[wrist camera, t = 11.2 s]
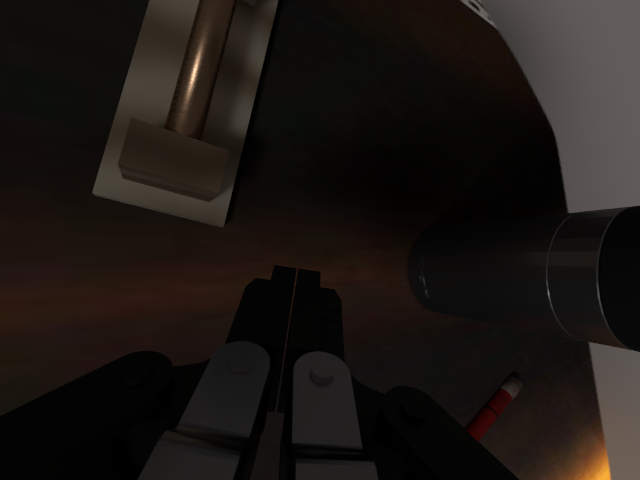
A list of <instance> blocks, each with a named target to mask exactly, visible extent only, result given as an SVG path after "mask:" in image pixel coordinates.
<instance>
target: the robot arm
mask: <svg viewBox="0 0 640 480" xmlns="http://www.w3.org/2000/svg"><path fill="white" fill-rule="evenodd" d="M296 269H297V268H290V267H283V266H276V265H275V266H274V269H273V273H272V277H271V280H266V279H259V278H255V279H254V280H253V281H252V282H251V283H249V284H248V285H247V286H246V287H245V290H244V293H243V296H242V300H241V301H240V304H239V308H238V310H237V312H236V315H235V318H234V321H233V323H232V326H231V329H230V332H229V335H228V337H227V340H226V343H225V345H223V346H221V347H220V348H219V349H217V350H216V352H215V353H214V354H213V356H212V357H211V358H210V359H209V360H206V361H204V362H201V363H197V364H192V365H184V366H176V367H173V365H172V363H171V361H170V360H169V359H168V358H167V357H166V356H165V355H163V354H161V353H158V352H153V351H139V352H134V353H131V354H128V355H125V356H123V357H121V358H119V359H117V360H115V361H113V362H110V363H108V364H106V365H104V366H102V367H100V368H98V369H96V370H94V371H92V372H90V373H88V374H86V375H84V376H82V377H80V378H78V379H76V380H74V381H72V382H69V383H67V384H65V385H63V386H61V387H59V388H57V389H55V390H53V391H51V392H49V393H47V394H45V395H43V396H41V397H39V398H37V399H35V400H33V401H31V402H28V403H26V404H24V405H22V406H20V407H18V408H16V409H14V410H12V411H10V412H8V413H6V414H4V415H2V416H0V480H250V477H251V473H252V469H253V465H254V461H255V458H256V454H257V450H258V446H259V442H260V437H261V435H262V432H263V430H264V427H265V421H266V415H267V411H271V412H275V407H276V400H277V394H278V387H279V381H280V374H281V368H282V362H283V355H284V349H285V342H286V335H287V329H288V322H289V316H290V309H291V302H292V296H293V289H294V283H295V276H296ZM409 279H410V284H411V287H412V290H413V292H414V294H415V296H416V297H417V299H418V300H419V302H420V303H421V304H422V305H423V306H424V307H426V308H427V309H429V310H431V311H434V312H438V313H443V314H448V315H453V316H458V317H463V318H468V319H473V320H478V321H483V322H488V323H493V324H498V325H504V326H509V327H514V328H519V329H524V330H529V331H534V332H540V333H545V334H550V335H555V336H560V337H565V338H570V339H576V340H582V341H587V342H593V343H598V344H603V345H608V346H613V347H618V348H623V349H628V350H634V351H638V352H640V206H634V207H624V208H615V209H605V210H595V211H585V212H578V213H568V214H558V215H549V216H539V217H529V218H520V219H510V220H500V221H491V222H481V223H471V224H460V225H451V226H442V227H434V228H432V229H430V230H427V231H426V232H425V233H424V234H422V235H421V236H420V238H419V239H418V240H417V241H416V243H415V245H414V247H413V249H412V252H411V255H410V259H409ZM277 412H280V413H285V416H284V424H283V431H282V437H281V443H280V463H279V480H519V479H518V478H517V477H516V476H515V475H514V474H513V473H511V472H510V471H509V470H508V469H507V468H506V467H505V466H504V465H503V464H502V463H501V462H500V461H499V460H498V459H496V458H495V457H494V456H493V455H492V454H491V453H490V452H489V451H488V450H487V449H486V448H485V447H484V446H482V445H481V444H480V443H479V442H478V441H477V440H476V439H475V438H474V437H473V436H472V435H471V434H470V433H469V432H467V431H466V430H465V429H464V428H463V427H462V426H461V425H460V424H459V423H458V422H457V421H456V420H455V419H453V418H452V417H451V416H450V415H449V414H448V413H447V412H446V411H445V410H444V409H443V408H442V407H441V406H440V405H438V404H437V403H436V402H435V401H434V400H433V399H432V398H431V397H430V396H428V395H427V394H426V393H424V392H422V391H420V390H418V389H416V388H413V387H408V386H398V387H394V388H392V389H390V390H389V391H388V392H387V393H386V394H383V393H380V392H378V391H376V390H373V389H371V388H369V387H367V386H365V385H363V384H361V383H360V382H358V381H357V380H356V379H355V378H354V377H353V376H352V375H351V374H350V371H349V369H348V367H347V366H346V364H345V360H344V343H343V324H342V305H341V299H340V297H339V296H338V294H337V293H336V291H335V290H334V289H328V288H321V287H320V272H317V271H311V270H304V269H298V276H297V282H296V288H295V295H294V301H293V307H292V314H291V320H290V327H289V334H288V341H287V348H286V355H285V362H284V369H283V375H282V382H281V389H280V396H279V403H278V410H277Z"/></svg>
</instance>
